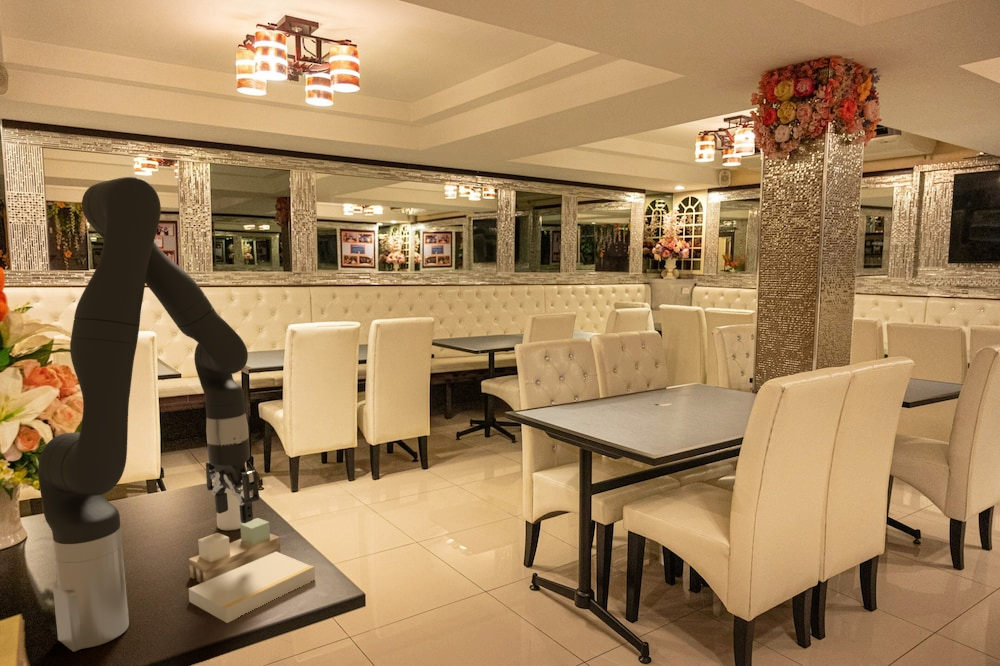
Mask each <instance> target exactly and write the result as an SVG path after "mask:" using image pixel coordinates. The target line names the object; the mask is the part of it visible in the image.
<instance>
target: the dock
mask: <svg viewBox="0 0 1000 666" xmlns="http://www.w3.org/2000/svg"><path fill="white" fill-rule="evenodd" d="M315 568H316V567H315V566H313V565H310V564H307V563H306V562H302V561H300V560H298V559H295V558H293V557H291V556H288V555H285V554H283V553H282V552H281V553H279V552H274V553H271V554H269V555H267V556H264V557H262V558H260V559H257V560H255V561H253V562H250V563H248V564H245V565H243V566H241V567H238V568H236V569H234V570H231V571H229V572H227V573H224V574H222V575H220V576H217V577H215V578H212V579H210V580H208V581H205V582H200V583H199V584H196V585H194V586H192V587H189V588H188V601H189V603H191V604H192V605H194V606H196V607H198V608H199V609H201V610H203V611H205V612H206V613H209V614H211V615H212V616H214V617H215V618H217V619H219V620H221V621H223V622H224V623H225V624H228V623H230V622H233V621H235V620H236V619H238V617H239V618H240V616H241V615H243V616H244V614H245V613H247V614H249V613H250V611H251V612H253V611H255V610H256V609H255V608H257V609H259V608H261V607H262V605H263V606H265V605H267V604H269V603H271V602H272V601H271V600H273V601H275V600H277V599H279V598H281V597H283V596H285V595H287V594H289V593H288V592H290V591H292V590H294V589H296V590H297V588H298V589H299V587H300V588H301V587H304V586H306V585H308V584H309V583H312V582H314V581H315V580H316V574H315V573H316V572H315V571H316V570H315ZM313 580H314V581H313ZM311 581H312V582H311ZM305 584H306V585H305ZM303 585H304V586H303ZM294 591H295V590H294ZM292 592H293V591H292ZM286 593H287V594H286ZM290 593H291V592H290ZM284 594H285V595H284ZM282 595H283V596H282ZM278 597H279V598H278ZM276 598H277V599H276ZM274 599H275V600H274ZM270 601H271V602H270ZM268 602H269V603H268ZM266 603H267V604H266ZM264 604H265V605H264ZM260 606H261V607H260ZM258 607H259V608H258ZM254 609H255V610H254ZM252 610H253V611H252ZM248 612H249V613H248ZM245 615H246V614H245ZM241 617H242V616H241Z"/></svg>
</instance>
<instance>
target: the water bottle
mask: <svg viewBox="0 0 1000 666" xmlns="http://www.w3.org/2000/svg"><path fill="white" fill-rule="evenodd" d="M245 467H246V470H247V471H248V468H247V461H246V462H245ZM214 480H215V478H213V481H214ZM240 488H243V485H242V486H241V487H240ZM240 488H237V489H240ZM224 493H227V500H228V510H227V511H226V512H223V513H220V514H219V513H217V512H216V525H217V528H218V529H220V530H221V531H222V530H223V531H236V530H239V529H240V530H241V528H240V524H242V522H241V519H240V506H239V505H240V503H239V501H238V499H237V497H236V496H234V495H233V494H232V492H231V490H230V489H228V488H227V491H226V492H224ZM242 496H243V498H244V493H242Z"/></svg>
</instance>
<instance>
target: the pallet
mask: <svg viewBox="0 0 1000 666" xmlns="http://www.w3.org/2000/svg"><path fill="white" fill-rule="evenodd" d="M229 544H230V555H228V556H225V557H223V558H221V559H218V560H216V561H213V562H209V561H207V560H205V559H202V558H200V557H199V554H197V555H195V556H192V557H190V558H188V565H189V567H188V568H189V578H191V579H192V580H194V579H196V581H197V582H199V583H203V582H205V581H208V580H210V579H212V578H215V577H217V576H220V575H222V574H224V573H227V572H229V571H231V570H234V569H236V568H238V567H241V566H243V565H245V564H248V563H250V562H253V561H255V560H257V559H260V558H262V557H264V556H267V555H269V554H271V553H274V552H279V553H281V554H282V551H281V550H282V549H281V537H280V536H278V535H276V534H273V533H271V532H270V539H268V540H265V541H263V542H260V543H258V544H255V545H250V544H248V543H246V542H243V541H241V538H239V539H236V540H234V541H231V542H229Z"/></svg>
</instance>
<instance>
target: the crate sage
mask: <svg viewBox="0 0 1000 666" xmlns="http://www.w3.org/2000/svg"><path fill="white" fill-rule="evenodd" d="M270 530H271V529H270V521H268V520H265V519H262V518H259V517H256V518H253V519H252V521H250V522H247V523H242V524H240V539H241V541H243V542H246V543H248V544H250V545H255V544H258V543H260V542H263V541H265V540H268V539H270V533H271V532H270Z"/></svg>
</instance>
